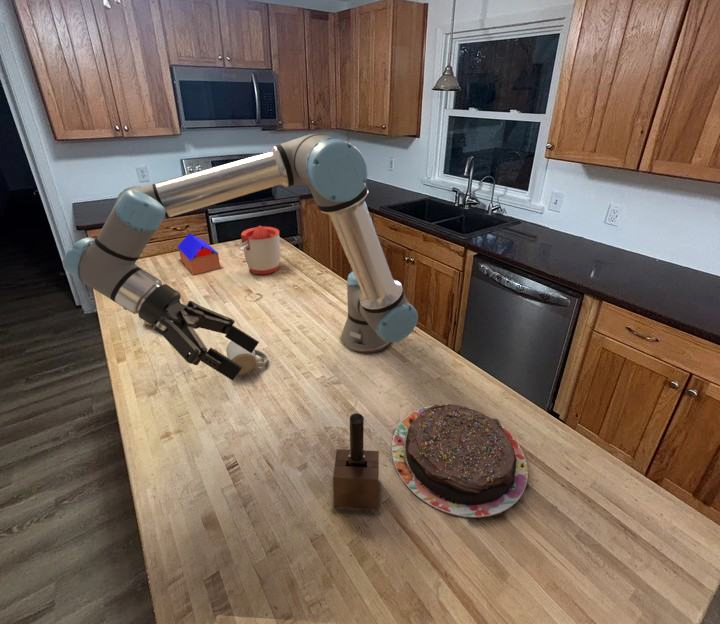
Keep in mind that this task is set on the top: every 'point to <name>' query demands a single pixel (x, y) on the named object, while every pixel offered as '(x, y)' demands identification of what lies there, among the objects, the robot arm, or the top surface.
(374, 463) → the knife block
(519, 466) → the chocolate cake
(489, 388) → the top surface
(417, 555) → the top surface
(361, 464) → the knife
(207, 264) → the house
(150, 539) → the top surface
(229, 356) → the ceramic mug
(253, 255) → the citrus juicer
